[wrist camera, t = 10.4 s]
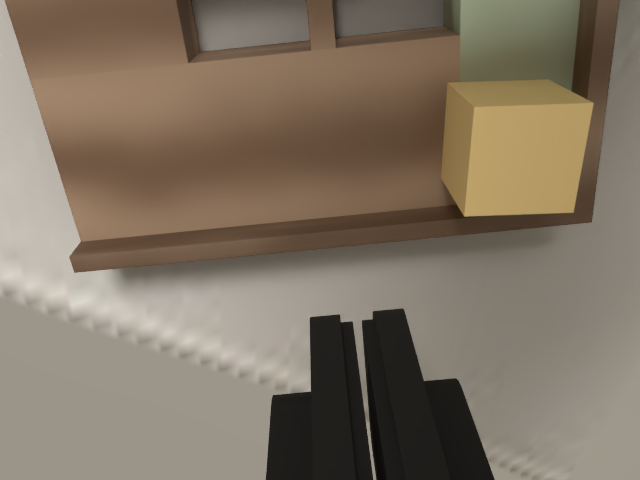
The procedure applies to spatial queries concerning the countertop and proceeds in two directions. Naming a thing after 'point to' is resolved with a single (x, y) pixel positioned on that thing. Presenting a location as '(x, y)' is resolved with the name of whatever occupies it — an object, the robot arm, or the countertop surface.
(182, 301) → the countertop surface
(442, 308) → the countertop surface
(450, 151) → the block
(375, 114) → the box
